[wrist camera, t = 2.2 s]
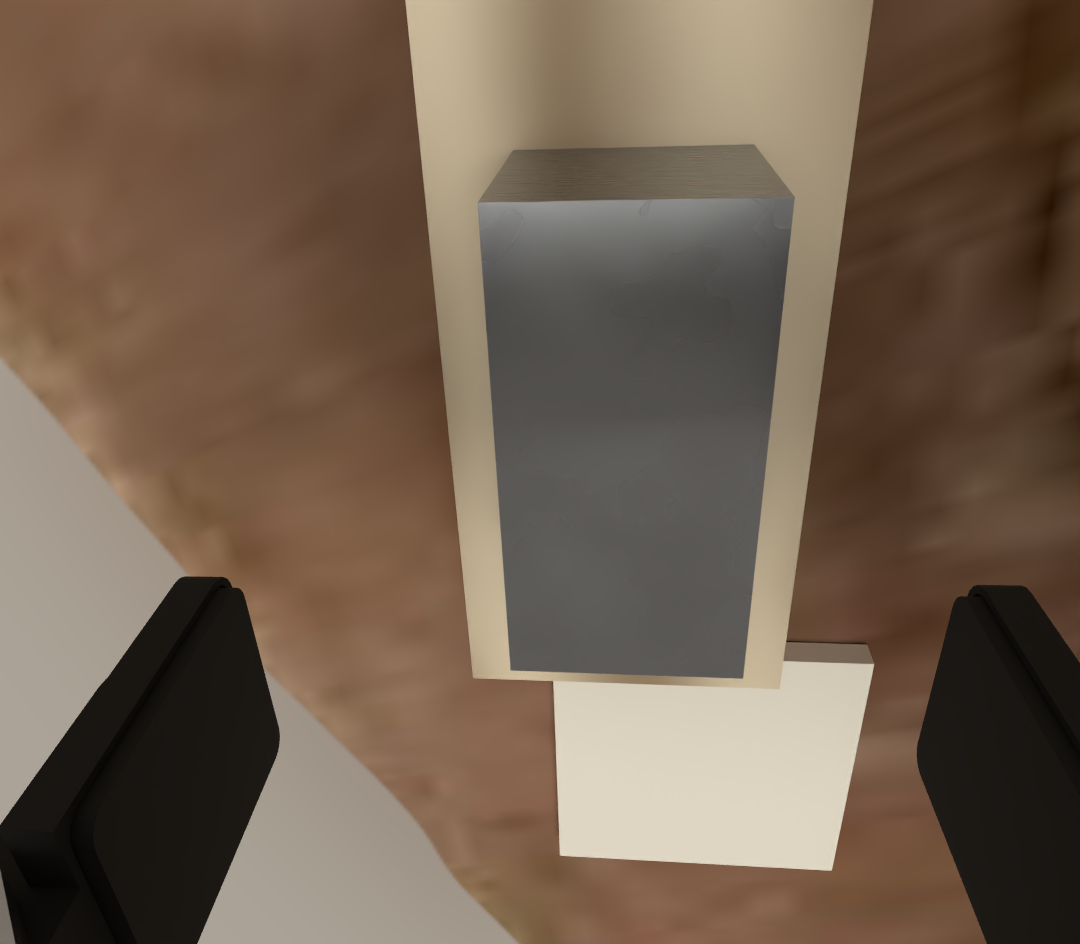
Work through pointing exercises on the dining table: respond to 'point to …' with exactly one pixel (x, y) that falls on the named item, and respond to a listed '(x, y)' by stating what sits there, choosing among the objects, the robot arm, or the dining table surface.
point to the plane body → (635, 121)
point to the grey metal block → (632, 399)
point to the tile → (713, 764)
